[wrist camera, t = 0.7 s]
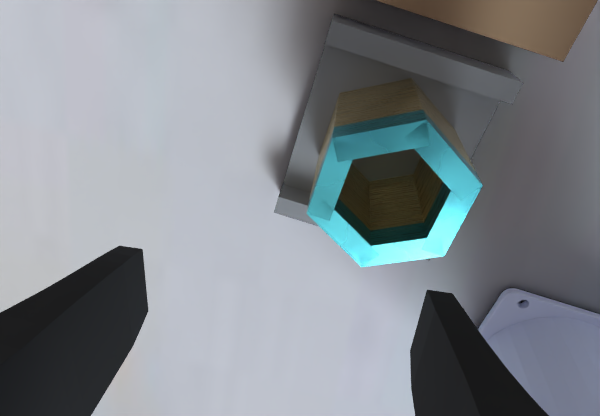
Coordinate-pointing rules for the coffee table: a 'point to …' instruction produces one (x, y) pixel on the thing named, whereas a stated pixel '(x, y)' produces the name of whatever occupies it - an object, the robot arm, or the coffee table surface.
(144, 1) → the coffee table surface
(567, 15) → the pin board
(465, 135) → the tray
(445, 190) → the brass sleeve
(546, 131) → the coffee table surface
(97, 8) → the coffee table surface
